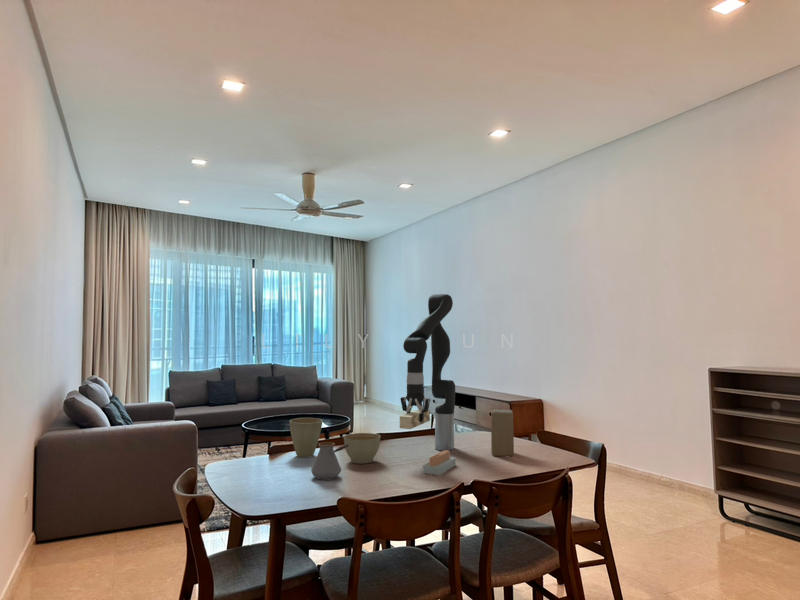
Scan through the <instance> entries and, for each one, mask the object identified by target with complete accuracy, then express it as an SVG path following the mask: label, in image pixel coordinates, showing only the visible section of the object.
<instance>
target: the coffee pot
mask: <svg viewBox="0 0 800 600" xmlns="http://www.w3.org/2000/svg"><path fill="white" fill-rule="evenodd" d="M335 445H336V443H335V442H332V441H331V442H330V441H323V442H318V444H317V447H318V448H319V451H318V452H317V455H316V457H315V460H314V463H313V465H312V468H311V473H312V476H314V477H315V479H316V478H317V480H319V479H322V480H321V481H330V480H329V479H332V480H334V478H335V479H336V478H337V477H338V476H339V475H340V473H341V471H342V468H341V465H340V463H339V460H338V457H337V456H336V453H337V452H340V451H343V450H344V449H345V450H346V447H348V446H349V445H342V446H339V447H337V448H336V449H334V448H335V447H334V446H335ZM350 448H351V447H350ZM349 450H350V449H349Z"/></svg>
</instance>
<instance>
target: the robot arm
mask: <svg viewBox="0 0 800 600" xmlns="http://www.w3.org/2000/svg"><path fill="white" fill-rule="evenodd" d="M428 297H429V298H428V301H427V302H428V303H427V307H428V309H427V310H428V315H427V316H426V317H424V318H423V319H422V320H421V322H420V323H419V324H418V326H417V328H416V329H415V330H414V331H413V332H412V333H410V334H409V335H408V336H407V337H406V338H405V340H404V342H403V345H402V347H403V350H404V352H405V353H407V354H415V357H414V358H411V359H410V358H409V359H408V360H407V365H406V366H407V368H406V369H407V370H406V371H407V372H406V374H407V375H406V395H405V396H401V397H400V398H399V399H400V403H401V408H402V409H401V410H402V411H403V412H405V413H406V414H407V413H410V412H412V408H413V407H414V406H415V407H417V410H419V412H420V414H419V422H423V420H424V413H425V412H427V411H428V410H429V408H430V403H431V398H426V397H425V394H424V391H425V390H424V389H425V388H424V387H425V385H424V384H425V382H424V381H425V380H424V379H425V377H424V360H425V357H426V353H427V349H428V342H427V341H429V339H430V340H431V341H430V346H431V367H432V369H431V371H432V373H431V393H432V397H433V398H435V399H441V400H442V399H443V400H445V401H444V403H443V404H440V405H437V406H435V409H434V420H435V421H434V430H435V431H434V433H435V434H434V449H435V450H438V451H444V450H448V451H453V450H455V407H456V406H455V405H456V384H455V382H454V381H453V380H451V379H442V371H443V369H444V366H445V364H446V363H447V361H448V359H449V357H450V354H451V340H450V338H449V335H448V333H447V332H446V330H445V329H444V327H443V326H442V323H441V322H442V321H443V319H445V318H446V316H447V315H448V314H449V313H450V312H451V310H452V308H453V305H454V303H453V298H452V296H451V295H450V294H448V293H447V294H446V293H445V294H444V293H443V294H442V293H440V294H431V295H430V296H428ZM430 337H431V338H430ZM423 402H424V405H423Z"/></svg>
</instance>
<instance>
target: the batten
mask: <svg viewBox="0 0 800 600" xmlns="http://www.w3.org/2000/svg"><path fill="white" fill-rule="evenodd" d="M419 414H420V412H419V409H416V410H414V411H411V412H410V413H407V412H406V414H405V413H404V414H402V415H399V429H404V430H412V429H414V428H417V427H419V426H421V425H423V424H425V423H428V422H430V421H431V419H430V417H431V410H430V409H428V411H427V412H425V413H424V420H423V422H419Z"/></svg>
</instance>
